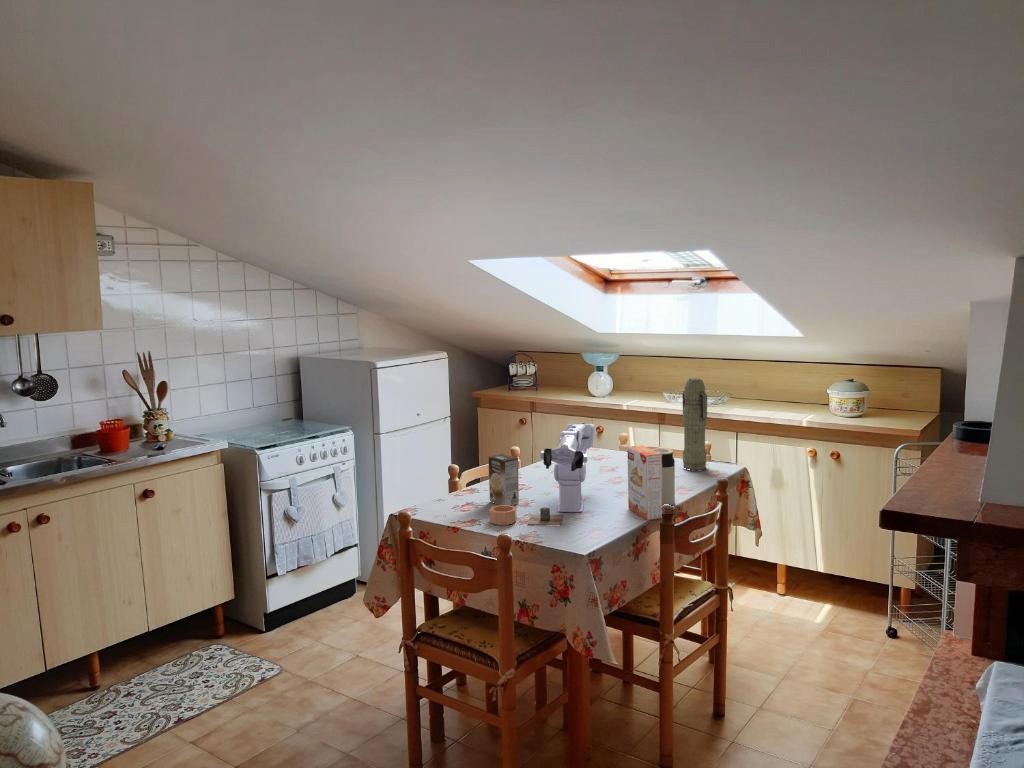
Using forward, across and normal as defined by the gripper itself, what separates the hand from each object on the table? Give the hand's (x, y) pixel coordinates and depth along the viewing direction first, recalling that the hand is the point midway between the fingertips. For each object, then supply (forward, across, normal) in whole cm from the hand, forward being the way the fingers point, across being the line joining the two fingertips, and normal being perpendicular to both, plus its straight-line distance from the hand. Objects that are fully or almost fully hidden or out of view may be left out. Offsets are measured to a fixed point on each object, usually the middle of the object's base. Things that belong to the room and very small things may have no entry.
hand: (559, 466), depth 245 cm
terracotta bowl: (0, -17, +21) cm, 27 cm away
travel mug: (-27, +31, +22) cm, 46 cm away
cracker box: (-14, +26, +20) cm, 36 cm away
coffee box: (-21, -22, +25) cm, 39 cm away
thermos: (-76, +42, +29) cm, 91 cm away
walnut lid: (-3, -4, +21) cm, 22 cm away
